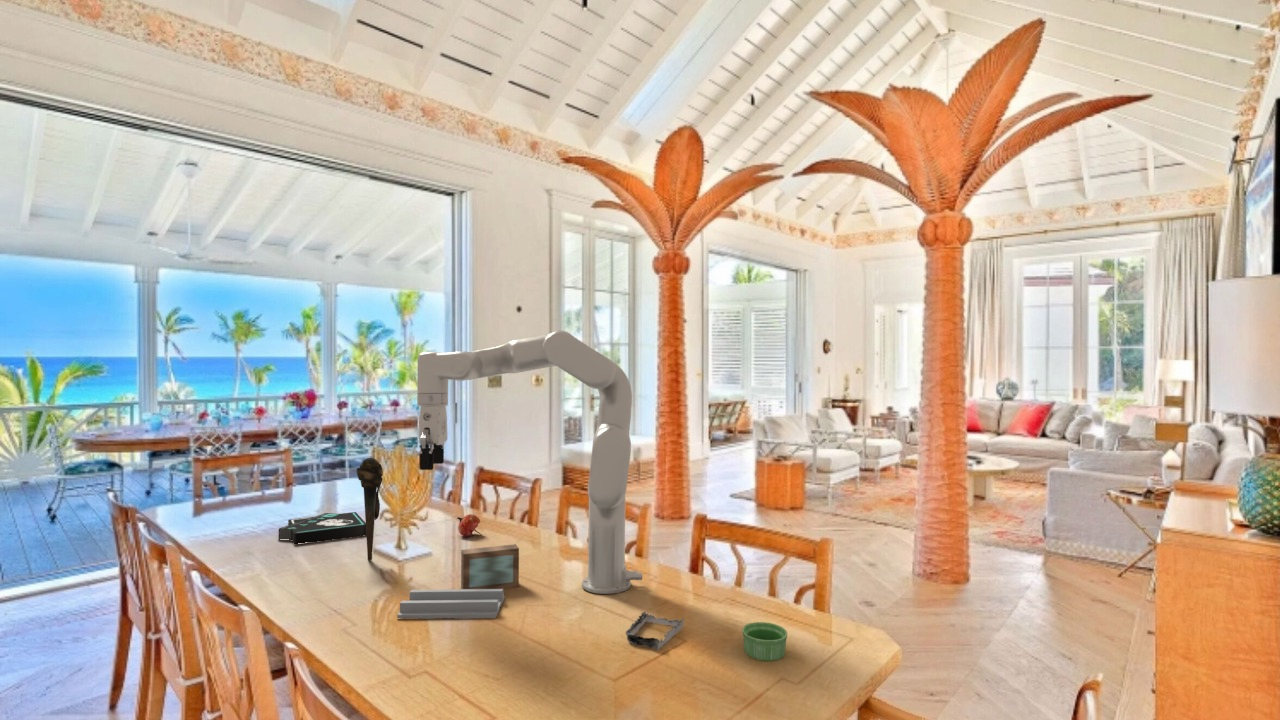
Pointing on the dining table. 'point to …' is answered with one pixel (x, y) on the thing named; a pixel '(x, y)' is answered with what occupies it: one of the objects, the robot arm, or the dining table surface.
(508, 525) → the dining table surface
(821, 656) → the dining table surface
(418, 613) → the display stand
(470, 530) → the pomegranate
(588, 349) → the robot arm
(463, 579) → the picture frame
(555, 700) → the dining table surface
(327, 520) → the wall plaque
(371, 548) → the decorative torch
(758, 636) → the ramekin
